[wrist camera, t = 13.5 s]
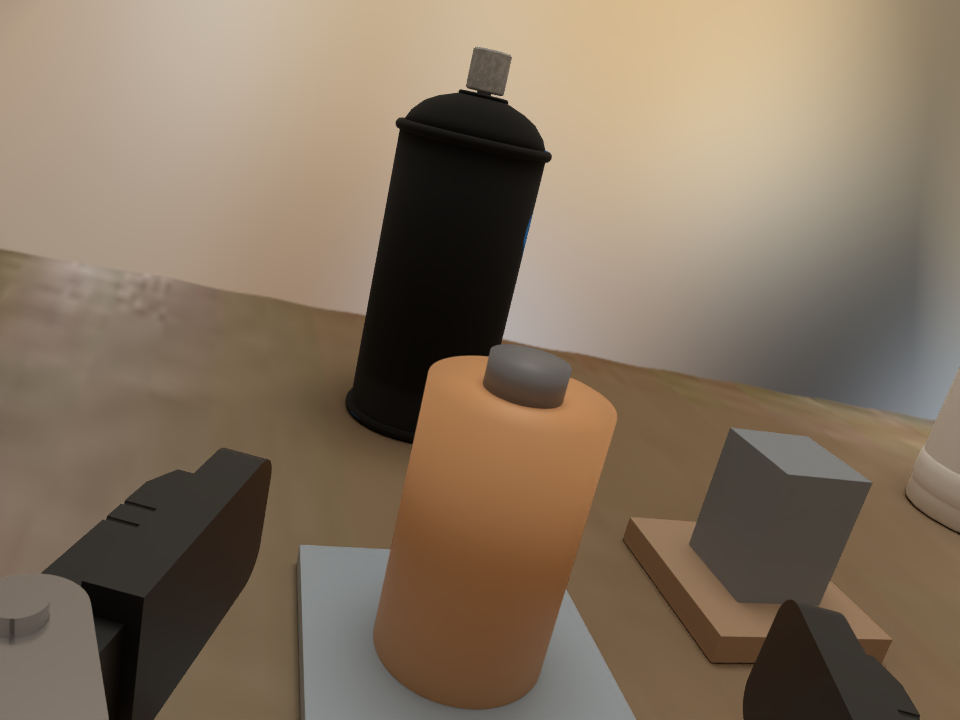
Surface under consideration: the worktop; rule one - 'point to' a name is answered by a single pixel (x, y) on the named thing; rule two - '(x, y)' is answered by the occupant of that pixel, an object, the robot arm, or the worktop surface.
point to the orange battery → (489, 524)
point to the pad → (385, 701)
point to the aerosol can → (446, 242)
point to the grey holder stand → (758, 544)
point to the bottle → (940, 466)
